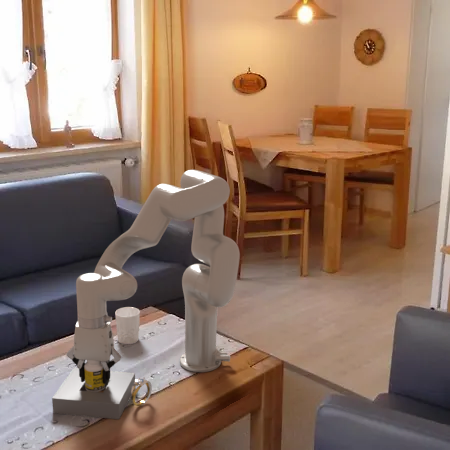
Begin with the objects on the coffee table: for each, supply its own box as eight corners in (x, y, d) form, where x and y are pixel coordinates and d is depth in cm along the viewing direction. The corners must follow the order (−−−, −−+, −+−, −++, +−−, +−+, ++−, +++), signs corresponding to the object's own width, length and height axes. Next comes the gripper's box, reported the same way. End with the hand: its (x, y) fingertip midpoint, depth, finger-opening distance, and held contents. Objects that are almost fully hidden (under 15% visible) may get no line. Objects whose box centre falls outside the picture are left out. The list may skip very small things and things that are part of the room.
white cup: (127, 332, 213) (127, 304, 211) (145, 338, 209) (144, 311, 206) (111, 340, 207) (110, 312, 204) (128, 347, 203) (127, 319, 200)
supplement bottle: (93, 395, 169) (92, 362, 166) (81, 388, 172) (79, 356, 170) (109, 387, 173) (108, 355, 170) (97, 380, 176) (95, 349, 174)
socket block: (135, 387, 180) (134, 373, 179) (119, 419, 165) (118, 404, 164) (74, 381, 182) (73, 367, 181) (53, 413, 167) (52, 398, 166)
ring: (135, 412, 168) (134, 386, 166) (127, 407, 170) (126, 381, 168) (155, 402, 173) (154, 376, 171) (147, 397, 175) (146, 372, 173)
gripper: (127, 316, 170) (129, 376, 175) (66, 311, 172) (69, 370, 177) (119, 328, 162) (121, 390, 168) (55, 323, 164) (59, 384, 170)
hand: (95, 379), depth 172 cm, fingers closed on supplement bottle, 5 cm apart
